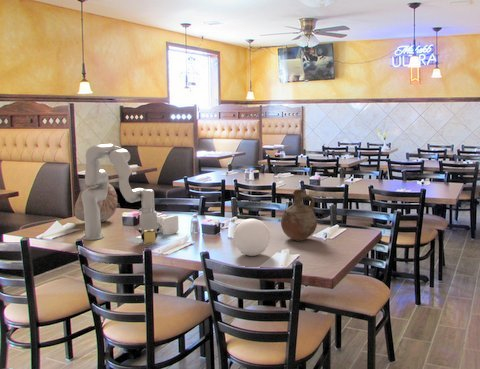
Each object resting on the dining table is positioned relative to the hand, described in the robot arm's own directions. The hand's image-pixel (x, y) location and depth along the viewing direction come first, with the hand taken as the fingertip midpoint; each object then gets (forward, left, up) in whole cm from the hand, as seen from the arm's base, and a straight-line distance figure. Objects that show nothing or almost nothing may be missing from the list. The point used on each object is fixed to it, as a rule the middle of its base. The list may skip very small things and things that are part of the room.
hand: (149, 239), depth 305 cm
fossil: (-75, +19, -3) cm, 77 cm away
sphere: (+65, +15, -3) cm, 67 cm away
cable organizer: (-10, +23, -3) cm, 25 cm away
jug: (+68, +59, -3) cm, 90 cm away
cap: (0, 0, -1) cm, 1 cm away
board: (-5, +3, -2) cm, 6 cm away
